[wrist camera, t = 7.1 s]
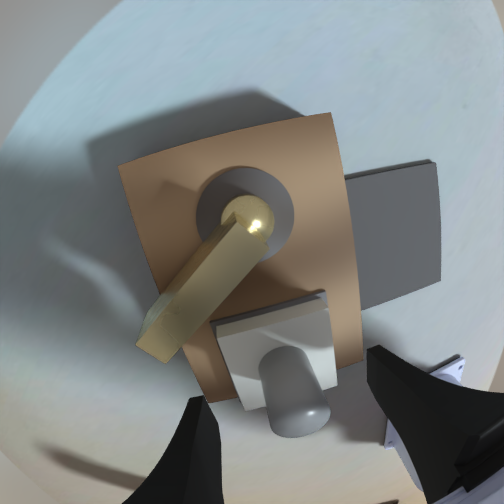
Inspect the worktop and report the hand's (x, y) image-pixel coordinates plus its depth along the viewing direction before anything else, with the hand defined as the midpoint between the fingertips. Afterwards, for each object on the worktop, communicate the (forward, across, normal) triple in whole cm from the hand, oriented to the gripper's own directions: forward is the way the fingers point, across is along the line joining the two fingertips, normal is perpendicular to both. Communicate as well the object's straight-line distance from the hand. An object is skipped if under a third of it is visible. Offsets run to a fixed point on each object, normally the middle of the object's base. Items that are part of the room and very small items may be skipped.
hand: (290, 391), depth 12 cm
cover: (+3, 0, 0) cm, 3 cm away
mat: (+6, -9, -3) cm, 11 cm away
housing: (+6, 0, -4) cm, 7 cm away
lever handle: (+3, +2, -5) cm, 6 cm away
